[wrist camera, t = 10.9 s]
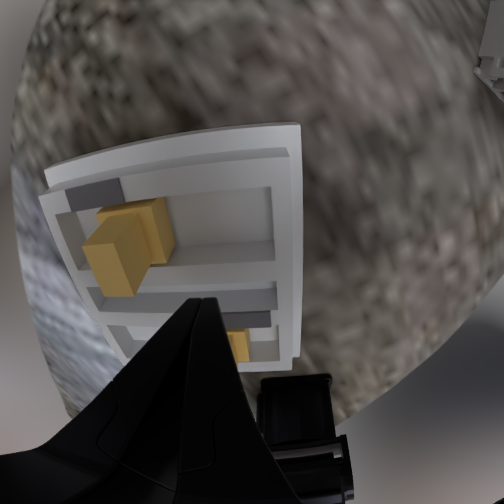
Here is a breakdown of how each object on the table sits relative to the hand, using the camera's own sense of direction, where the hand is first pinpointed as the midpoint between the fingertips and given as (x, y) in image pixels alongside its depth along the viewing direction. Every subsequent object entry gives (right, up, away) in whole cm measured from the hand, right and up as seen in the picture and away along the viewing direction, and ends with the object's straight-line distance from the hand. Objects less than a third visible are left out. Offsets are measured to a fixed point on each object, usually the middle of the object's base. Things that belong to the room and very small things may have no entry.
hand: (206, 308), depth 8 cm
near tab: (-4, +3, +6) cm, 8 cm away
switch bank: (-3, +1, +9) cm, 10 cm away
